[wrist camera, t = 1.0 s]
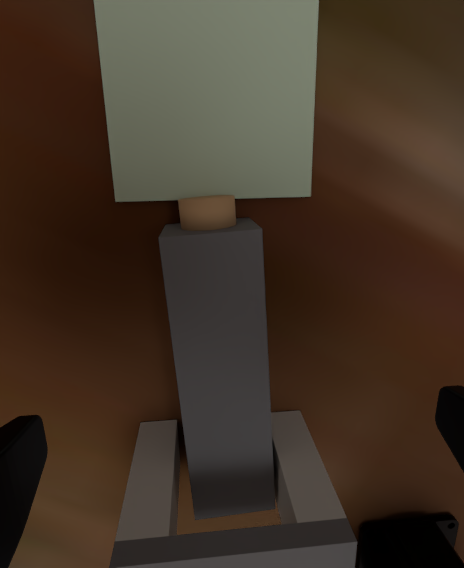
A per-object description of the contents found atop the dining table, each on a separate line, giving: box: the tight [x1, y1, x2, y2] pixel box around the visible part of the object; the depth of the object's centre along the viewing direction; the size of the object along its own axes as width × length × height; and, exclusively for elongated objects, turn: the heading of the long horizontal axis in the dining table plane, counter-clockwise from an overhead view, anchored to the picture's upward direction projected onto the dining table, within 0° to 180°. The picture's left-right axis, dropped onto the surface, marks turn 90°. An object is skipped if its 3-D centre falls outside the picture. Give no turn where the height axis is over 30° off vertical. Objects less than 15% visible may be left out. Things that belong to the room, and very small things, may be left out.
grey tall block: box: [158, 195, 275, 520], centre depth 18 cm, size 15×4×4 cm, turn 4°
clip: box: [109, 410, 357, 568], centre depth 18 cm, size 3×9×8 cm, turn 91°
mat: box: [94, 0, 319, 202], centre depth 16 cm, size 10×9×1 cm
